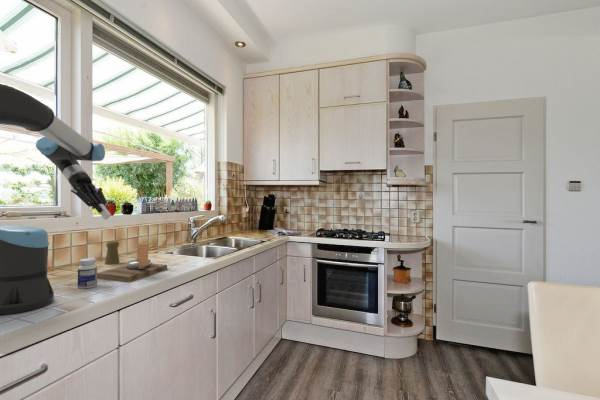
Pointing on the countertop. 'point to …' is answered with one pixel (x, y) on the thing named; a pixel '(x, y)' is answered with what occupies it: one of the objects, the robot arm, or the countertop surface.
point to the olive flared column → (112, 253)
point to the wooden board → (129, 273)
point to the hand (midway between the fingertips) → (107, 217)
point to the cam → (140, 258)
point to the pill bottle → (87, 273)
